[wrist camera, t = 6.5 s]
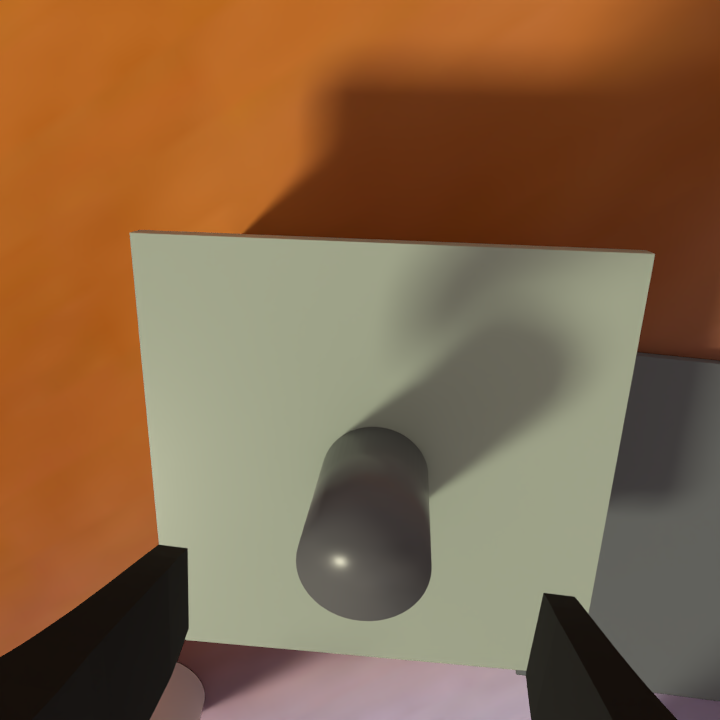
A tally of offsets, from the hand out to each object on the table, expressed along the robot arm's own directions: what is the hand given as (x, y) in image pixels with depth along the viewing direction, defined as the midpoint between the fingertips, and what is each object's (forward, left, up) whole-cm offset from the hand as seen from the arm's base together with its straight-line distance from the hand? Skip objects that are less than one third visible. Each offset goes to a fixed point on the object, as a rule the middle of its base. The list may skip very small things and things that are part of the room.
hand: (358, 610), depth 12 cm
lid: (0, 0, -6) cm, 6 cm away
